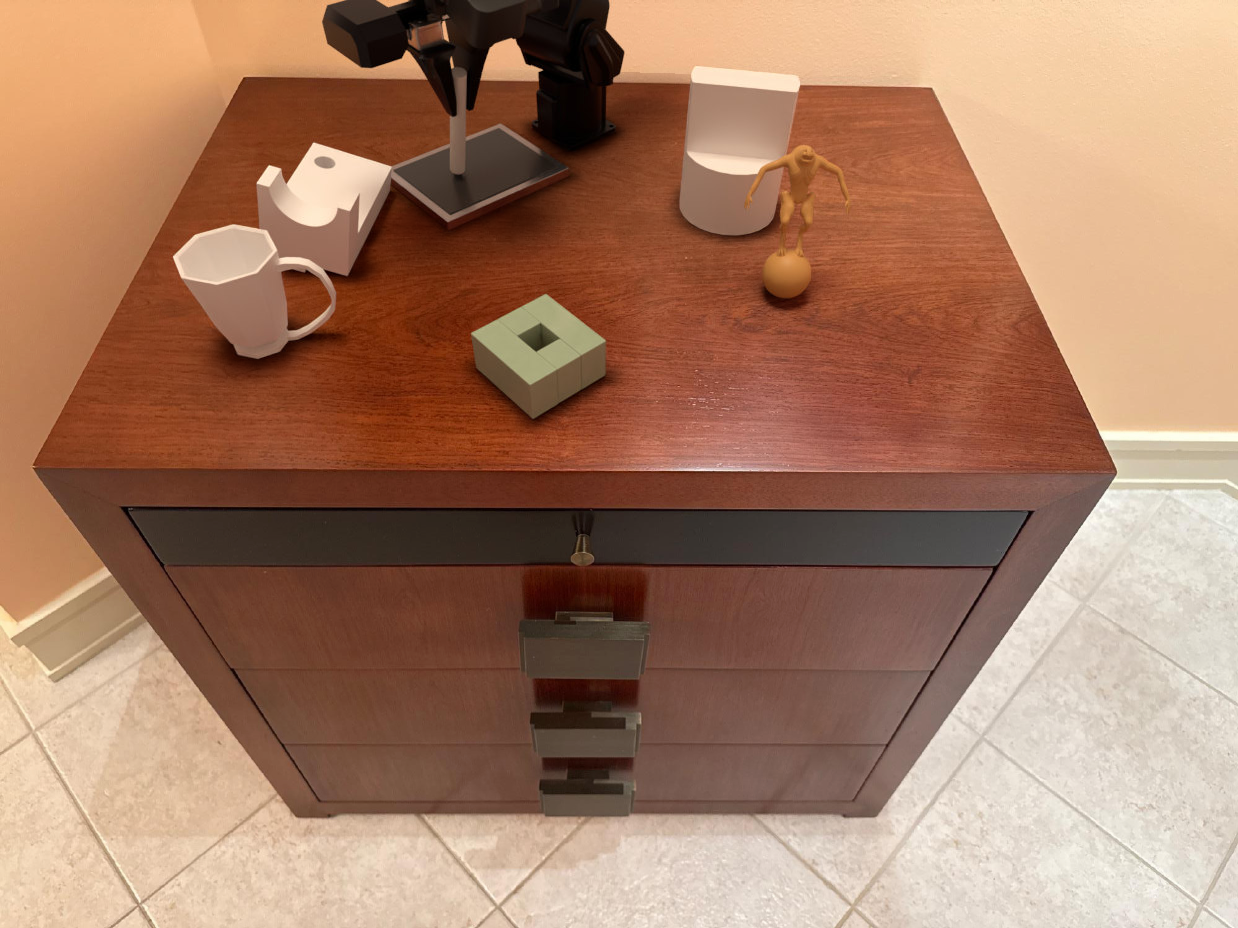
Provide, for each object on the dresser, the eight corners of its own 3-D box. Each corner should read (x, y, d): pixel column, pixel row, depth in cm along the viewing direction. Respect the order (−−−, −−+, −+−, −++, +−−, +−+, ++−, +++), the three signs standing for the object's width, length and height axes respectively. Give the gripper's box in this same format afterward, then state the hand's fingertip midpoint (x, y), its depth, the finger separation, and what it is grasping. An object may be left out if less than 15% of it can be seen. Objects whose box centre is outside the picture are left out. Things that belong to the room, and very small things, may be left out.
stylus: (459, 165, 77) (460, 65, 68) (467, 174, 77) (470, 74, 67) (446, 170, 76) (446, 70, 67) (455, 180, 76) (456, 80, 67)
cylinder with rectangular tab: (776, 186, 78) (800, 60, 69) (773, 240, 73) (799, 110, 63) (684, 176, 79) (696, 50, 70) (674, 229, 73) (685, 99, 64)
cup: (222, 313, 64) (182, 226, 58) (350, 304, 66) (324, 217, 59) (206, 374, 60) (161, 287, 54) (344, 363, 61) (315, 277, 55)
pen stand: (547, 328, 64) (545, 293, 62) (605, 375, 61) (606, 340, 58) (475, 368, 61) (470, 333, 59) (532, 419, 58) (529, 385, 55)
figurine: (734, 306, 67) (757, 173, 57) (730, 261, 70) (750, 130, 61) (834, 310, 67) (873, 178, 57) (825, 265, 70) (860, 135, 61)
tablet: (501, 131, 84) (500, 122, 83) (569, 176, 78) (569, 166, 78) (383, 178, 77) (381, 169, 77) (449, 230, 72) (447, 220, 72)
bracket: (347, 284, 69) (349, 211, 63) (261, 260, 67) (256, 183, 62) (389, 199, 77) (395, 127, 71) (313, 176, 76) (313, 101, 70)
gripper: (377, -34, 50) (418, 190, 63) (603, -93, 59) (601, 115, 71) (292, -83, 56) (346, 132, 68) (511, -132, 64) (524, 68, 76)
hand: (460, 112), depth 70 cm, fingers closed on stylus, 1 cm apart
